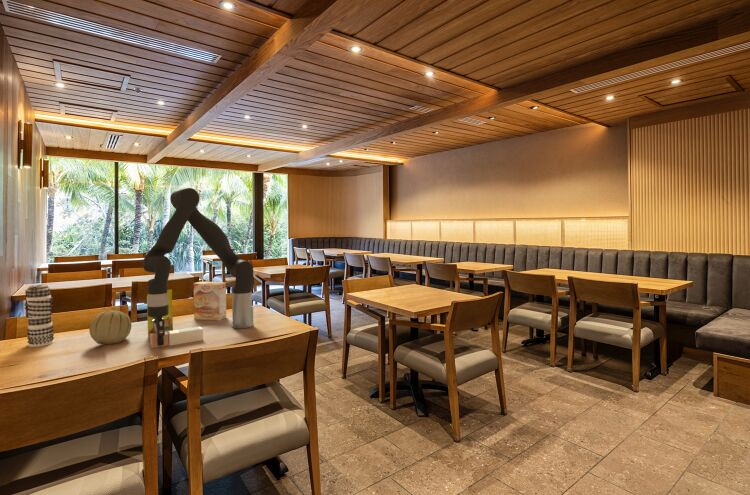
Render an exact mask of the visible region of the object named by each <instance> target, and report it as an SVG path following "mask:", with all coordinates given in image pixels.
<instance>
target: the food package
mask: <svg viewBox="0 0 750 495" xmlns="http://www.w3.org/2000/svg"><path fill="white" fill-rule="evenodd" d="M167 294H168V308H169V314H168V315H166V316H163V317H162V318H163V319H164V321H165V324H164V326H165V331H172V330H174V318H173V316H174V315H173V290H172V289H167ZM147 297H148V294H147V295H146V298H147ZM146 310H147V311H146V314H147V338H150V334H151V333H154V329H153V322H152V320H153V317H149V316H148V308H147V307H146ZM161 332H162V331H161Z"/></svg>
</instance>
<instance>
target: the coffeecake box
mask: <svg viewBox="0 0 750 495" xmlns="http://www.w3.org/2000/svg"><path fill="white" fill-rule="evenodd" d="M226 286H227V284H226V282H225V281H224V282H223V281H221V282H219V281H197V282H194V283H193V316H194V317H193V320H204V321H222V320H224V319H226V318H227V287H226Z"/></svg>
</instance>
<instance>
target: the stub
mask: <svg viewBox="0 0 750 495" xmlns="http://www.w3.org/2000/svg"><path fill="white" fill-rule="evenodd" d="M159 333H162V332H159ZM149 342H150V347H151V349H157V348H162V347H167V346H168V347H169V340H168V333H167V331H165V336H164V345H162V346H158V345H157V333H151V334H150V337H149Z"/></svg>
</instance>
